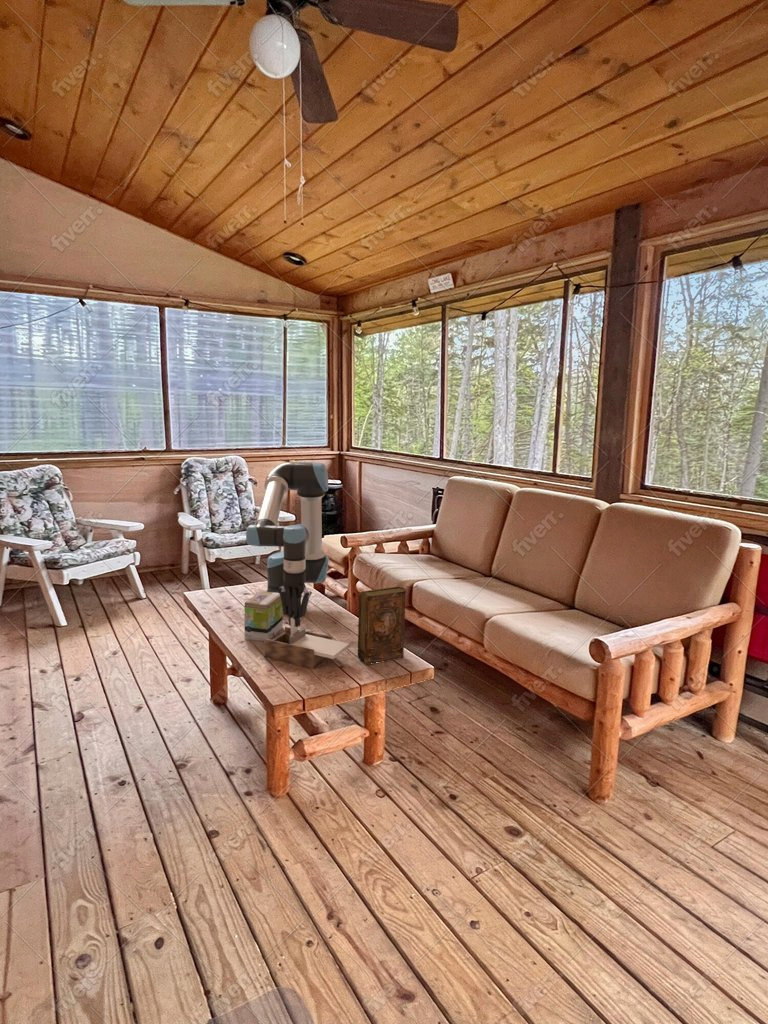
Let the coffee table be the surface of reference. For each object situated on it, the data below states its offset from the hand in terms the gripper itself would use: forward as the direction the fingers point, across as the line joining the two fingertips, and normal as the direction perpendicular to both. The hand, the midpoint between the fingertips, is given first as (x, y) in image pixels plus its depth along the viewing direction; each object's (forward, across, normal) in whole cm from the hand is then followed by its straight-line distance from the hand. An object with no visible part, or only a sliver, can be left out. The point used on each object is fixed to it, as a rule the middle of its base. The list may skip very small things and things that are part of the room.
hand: (294, 634), depth 207 cm
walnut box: (+8, +2, 0) cm, 8 cm away
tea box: (+8, -21, +11) cm, 25 cm away
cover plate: (+3, +10, 0) cm, 11 cm away
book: (+8, +29, +12) cm, 32 cm away
